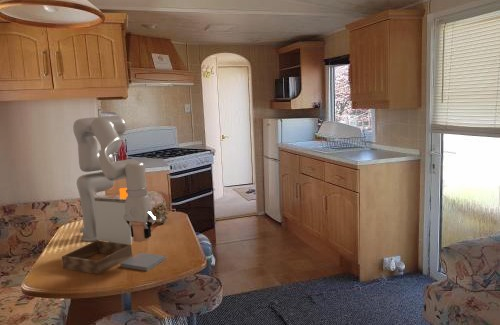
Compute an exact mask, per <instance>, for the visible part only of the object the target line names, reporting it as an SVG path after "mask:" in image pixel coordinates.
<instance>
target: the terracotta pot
mask: <svg viewBox="0 0 500 325" xmlns="http://www.w3.org/2000/svg"><path fill="white" fill-rule="evenodd" d="M131 225H132V227H133V237H132V239H133V241H134V242H136V243H141V242H146V241H149V239H150V237H149V238H147V239H146V238H145V234H144V229H145V226H144V223H141V222H132V221H131ZM147 225H148V221H147Z"/></svg>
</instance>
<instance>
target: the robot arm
mask: <svg viewBox="0 0 500 325" xmlns="http://www.w3.org/2000/svg"><path fill="white" fill-rule="evenodd" d="M73 122H74V123H73V126H72V129H73V130H72V131H73V134H74V137H75V140H76V142H77V153H78V165H79V168H80V170H81V171H82V172H84V173H86V174H83V175H80V176H78V178H77V179H76V187H77V190H78V193H79V198H80V204H81V207H80V208H81V214H82V223H83V227H81V228H80V229H79V233H81V234H82V235H81V240H82V241H84V242H95V241H98V240H97V236H96V217H95V197H99V195H98V194H97V193H100V192H107V191H110V190H112V189H114V188H115V184H116V181H120V180H125V183H126V184H125V185H126V188H127V190H126V193H127V195H128V196H127V197H126V201H125V216H124V217H123V218H124V219H125V220H126V222H127V223H128V224H129V227H131V237H132V238H133V227H132V225H131V221H132V222H141V223H144V226H145V229H144V234H145V238H146V239H147V238H149V239H150V238H151V237H152V230H151V228H152V226H153V225H154V223H156V222H155V221H156V218H155V217H154V216H153V215H152V206H151V201H150V196H149V195H148V189H147V177H146V166H145V163H144V162H143V161H138V160H136V159H134V158H131V159H123V160H117V161H115V159H114V155H113V154H114V153H116V152H117V151H119V150H120V148H121V147H122V144H123V140H122V139H121V137H120V136H121V135H123V134H125V132H126V130H127V124H126V121H125V119H124V118H123V117H121V116H120V115H108V116H107V115H106V116H99V117H98V116H97V117H84V118H83V117H81V118H79V119H76V120H75V121H73ZM98 143H99V145H100V147H101V149H100V150H99V149H98ZM97 171H99V172H97ZM91 172H92V173H91ZM147 221H148V225H147Z"/></svg>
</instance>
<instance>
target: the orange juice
mask: <svg viewBox="0 0 500 325" xmlns="http://www.w3.org/2000/svg"><path fill="white" fill-rule="evenodd" d="M126 190H127V187H121V188H119V199H126V197H127V196H128V195H127V193H126Z"/></svg>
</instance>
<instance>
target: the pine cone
mask: <svg viewBox="0 0 500 325" xmlns="http://www.w3.org/2000/svg"><path fill="white" fill-rule="evenodd" d="M151 209H152V215H153V216H154V217H155V218H156V221H155V222H154V223H157V224H158V225H161V224H162V223H165V222H167V220H168V218H169V209H168V207H167V206H166V205H165V204H162V203H157V205H156V204H155V205H154V206H151Z"/></svg>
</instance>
